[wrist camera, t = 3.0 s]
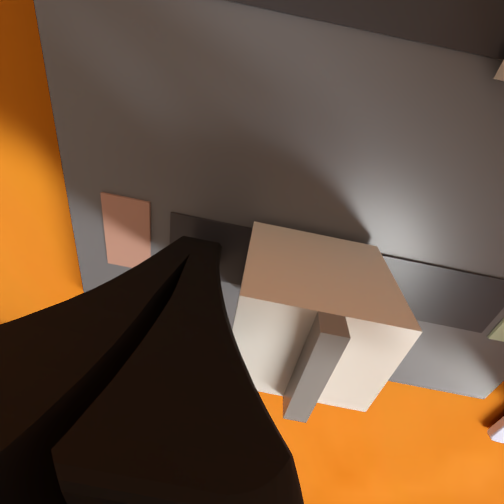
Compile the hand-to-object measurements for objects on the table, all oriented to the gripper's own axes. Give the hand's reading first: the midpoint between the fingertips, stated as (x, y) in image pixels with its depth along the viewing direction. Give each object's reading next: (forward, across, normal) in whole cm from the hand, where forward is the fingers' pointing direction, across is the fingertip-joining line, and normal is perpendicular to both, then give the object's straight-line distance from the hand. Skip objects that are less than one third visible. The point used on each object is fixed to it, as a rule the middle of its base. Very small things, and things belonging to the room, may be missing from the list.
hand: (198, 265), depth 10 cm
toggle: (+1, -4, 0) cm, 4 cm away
